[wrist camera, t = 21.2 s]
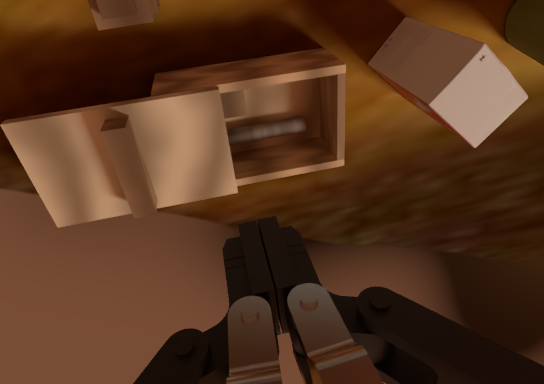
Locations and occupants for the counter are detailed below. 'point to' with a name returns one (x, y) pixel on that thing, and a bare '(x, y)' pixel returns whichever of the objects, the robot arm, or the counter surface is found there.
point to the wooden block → (123, 12)
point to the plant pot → (527, 28)
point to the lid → (126, 155)
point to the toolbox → (275, 110)
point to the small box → (449, 78)
